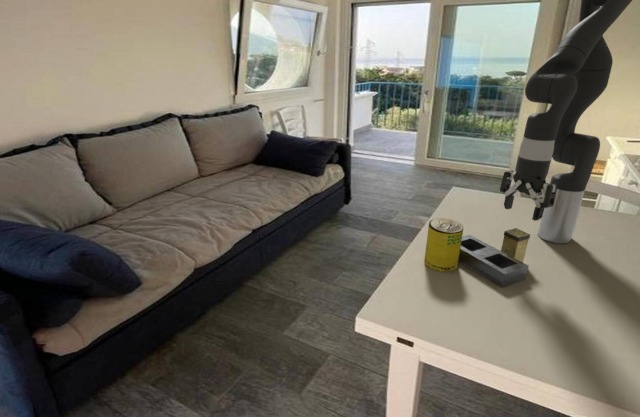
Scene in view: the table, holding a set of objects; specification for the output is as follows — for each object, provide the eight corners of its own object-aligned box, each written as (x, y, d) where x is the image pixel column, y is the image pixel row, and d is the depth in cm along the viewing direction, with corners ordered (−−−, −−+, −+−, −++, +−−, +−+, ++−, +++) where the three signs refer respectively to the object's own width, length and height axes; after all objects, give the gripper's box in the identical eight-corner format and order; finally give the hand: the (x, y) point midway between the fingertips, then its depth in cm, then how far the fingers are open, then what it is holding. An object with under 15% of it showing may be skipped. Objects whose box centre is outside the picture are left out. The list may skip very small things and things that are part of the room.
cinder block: (467, 246, 116) (469, 234, 115) (525, 278, 100) (528, 265, 98) (445, 252, 113) (446, 240, 111) (501, 287, 96) (504, 274, 94)
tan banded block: (509, 255, 111) (515, 227, 107) (523, 262, 107) (530, 234, 104) (498, 259, 109) (504, 231, 106) (512, 266, 105) (519, 237, 102)
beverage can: (460, 260, 108) (466, 222, 104) (453, 275, 101) (459, 235, 97) (429, 252, 113) (433, 215, 108) (420, 266, 106) (424, 227, 101)
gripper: (571, 160, 92) (555, 221, 98) (520, 148, 104) (508, 203, 110) (552, 164, 89) (536, 226, 95) (501, 151, 101) (490, 207, 107)
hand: (521, 214), depth 102 cm, fingers open, 8 cm apart
